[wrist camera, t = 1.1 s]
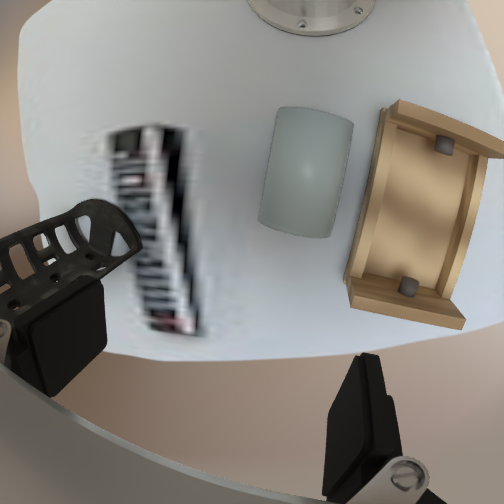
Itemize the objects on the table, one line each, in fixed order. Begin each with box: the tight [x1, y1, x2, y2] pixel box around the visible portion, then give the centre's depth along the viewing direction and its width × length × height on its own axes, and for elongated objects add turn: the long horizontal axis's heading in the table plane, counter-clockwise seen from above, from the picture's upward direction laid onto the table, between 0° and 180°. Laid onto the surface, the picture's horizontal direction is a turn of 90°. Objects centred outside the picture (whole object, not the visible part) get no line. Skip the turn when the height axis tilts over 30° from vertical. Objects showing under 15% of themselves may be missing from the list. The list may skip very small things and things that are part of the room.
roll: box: [258, 107, 354, 238], centre depth 24 cm, size 10×6×6 cm, turn 170°
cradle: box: [343, 100, 504, 330], centre depth 22 cm, size 16×10×7 cm, turn 170°
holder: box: [0, 199, 142, 328], centre depth 24 cm, size 11×8×20 cm
